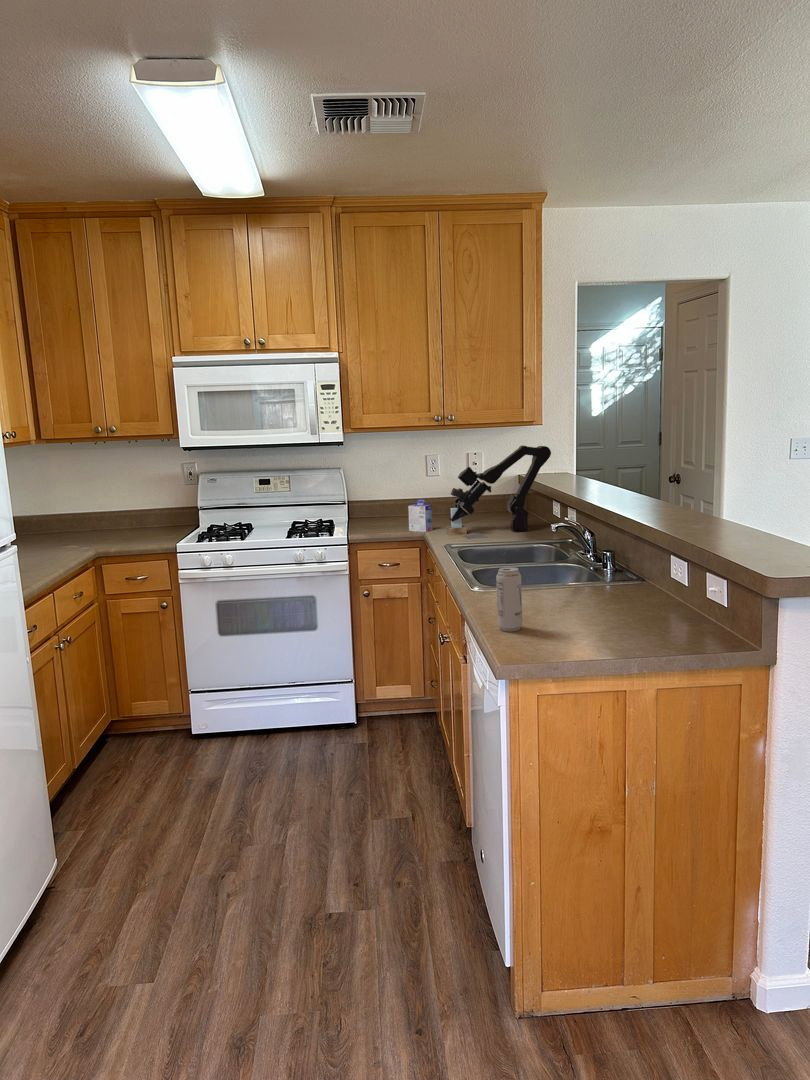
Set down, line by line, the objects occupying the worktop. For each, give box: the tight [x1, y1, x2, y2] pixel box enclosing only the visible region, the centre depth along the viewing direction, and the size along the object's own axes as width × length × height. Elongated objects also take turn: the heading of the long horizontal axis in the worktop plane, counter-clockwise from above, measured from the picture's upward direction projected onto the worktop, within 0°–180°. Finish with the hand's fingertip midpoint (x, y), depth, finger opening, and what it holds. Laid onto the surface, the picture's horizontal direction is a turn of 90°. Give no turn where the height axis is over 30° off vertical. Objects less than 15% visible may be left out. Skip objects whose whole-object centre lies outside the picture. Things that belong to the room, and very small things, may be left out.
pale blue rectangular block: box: [450, 507, 463, 528], centre depth 327 cm, size 4×4×11 cm
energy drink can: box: [495, 566, 523, 633], centre depth 184 cm, size 6×6×15 cm
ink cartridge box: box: [408, 499, 434, 533], centre depth 340 cm, size 10×6×14 cm, turn 53°
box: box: [446, 525, 468, 536], centre depth 327 cm, size 8×7×4 cm
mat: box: [462, 533, 488, 540], centre depth 318 cm, size 9×9×1 cm
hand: (450, 520), depth 326 cm, fingers closed on pale blue rectangular block, 3 cm apart
